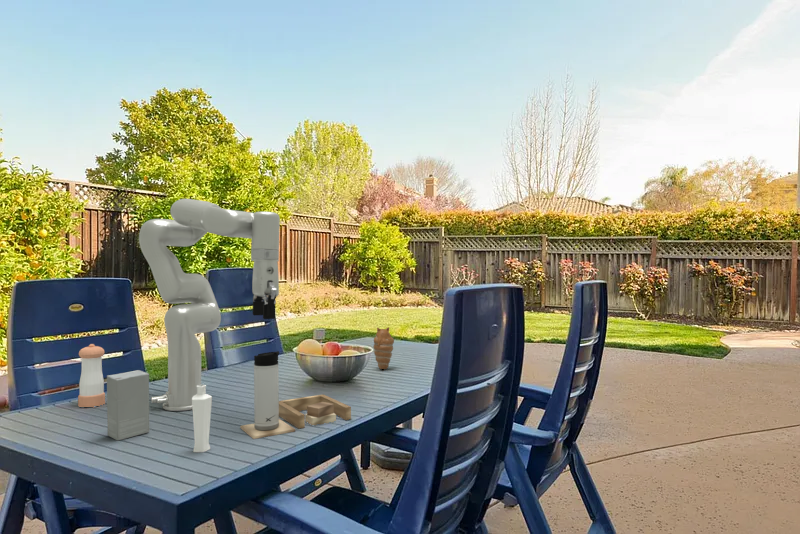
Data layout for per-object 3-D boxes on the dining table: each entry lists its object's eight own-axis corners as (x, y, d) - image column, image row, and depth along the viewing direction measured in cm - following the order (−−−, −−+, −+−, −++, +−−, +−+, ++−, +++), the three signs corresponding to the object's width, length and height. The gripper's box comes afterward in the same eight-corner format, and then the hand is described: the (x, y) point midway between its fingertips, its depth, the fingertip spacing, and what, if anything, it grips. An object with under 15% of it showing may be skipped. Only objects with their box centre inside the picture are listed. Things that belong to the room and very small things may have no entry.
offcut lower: (312, 427, 140) (312, 418, 140) (305, 423, 145) (305, 414, 145) (336, 423, 144) (336, 414, 144) (328, 419, 148) (328, 410, 148)
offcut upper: (318, 417, 141) (318, 408, 141) (307, 415, 143) (307, 406, 143) (333, 412, 146) (333, 404, 146) (322, 410, 148) (322, 401, 148)
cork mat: (253, 439, 129) (253, 436, 129) (240, 428, 139) (240, 425, 139) (295, 431, 135) (295, 429, 135) (279, 421, 145) (279, 419, 145)
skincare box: (138, 428, 139) (138, 369, 139) (151, 433, 134) (151, 372, 134) (104, 436, 132) (104, 374, 132) (116, 442, 128) (116, 377, 128)
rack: (299, 428, 138) (298, 415, 138) (274, 413, 153) (274, 401, 153) (350, 419, 146) (350, 406, 146) (323, 405, 161) (323, 394, 161)
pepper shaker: (79, 404, 165) (79, 343, 165) (105, 401, 168) (105, 342, 168) (77, 409, 158) (77, 346, 158) (104, 406, 161) (104, 344, 162)
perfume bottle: (214, 446, 124) (214, 383, 124) (208, 452, 120) (208, 387, 120) (195, 446, 124) (195, 383, 124) (188, 452, 120) (188, 387, 120)
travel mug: (273, 431, 133) (273, 353, 133) (250, 430, 135) (249, 353, 135) (283, 424, 139) (283, 349, 139) (261, 423, 141) (260, 349, 141)
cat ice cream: (375, 372, 214) (375, 328, 214) (370, 368, 222) (370, 326, 222) (396, 370, 217) (396, 327, 217) (390, 367, 225) (390, 326, 225)
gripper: (288, 256, 140) (286, 319, 141) (268, 256, 155) (267, 313, 155) (261, 255, 136) (259, 320, 137) (243, 255, 151) (241, 314, 151)
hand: (263, 316), depth 146 cm, fingers open, 9 cm apart
